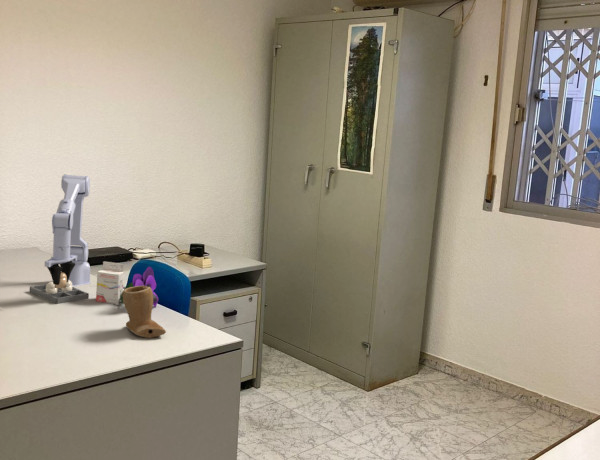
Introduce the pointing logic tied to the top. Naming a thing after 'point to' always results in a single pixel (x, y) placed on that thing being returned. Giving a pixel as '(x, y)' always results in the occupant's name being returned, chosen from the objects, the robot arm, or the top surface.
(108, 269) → the ink cartridge box
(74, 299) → the carton
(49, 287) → the cream egg
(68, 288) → the cream egg
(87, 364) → the top surface
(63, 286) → the brown egg
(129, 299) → the brown felt boot
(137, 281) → the flower
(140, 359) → the top surface
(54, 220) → the robot arm
